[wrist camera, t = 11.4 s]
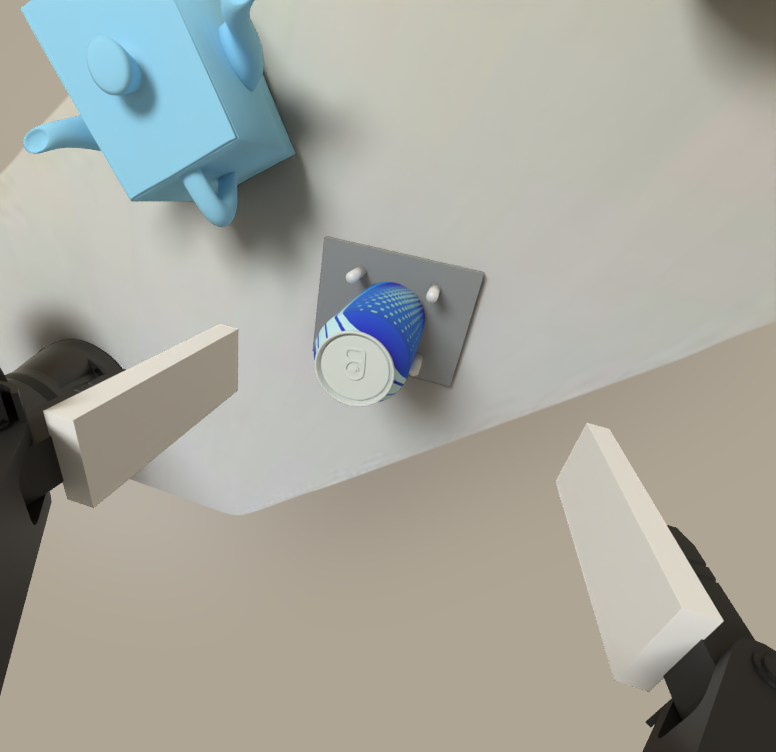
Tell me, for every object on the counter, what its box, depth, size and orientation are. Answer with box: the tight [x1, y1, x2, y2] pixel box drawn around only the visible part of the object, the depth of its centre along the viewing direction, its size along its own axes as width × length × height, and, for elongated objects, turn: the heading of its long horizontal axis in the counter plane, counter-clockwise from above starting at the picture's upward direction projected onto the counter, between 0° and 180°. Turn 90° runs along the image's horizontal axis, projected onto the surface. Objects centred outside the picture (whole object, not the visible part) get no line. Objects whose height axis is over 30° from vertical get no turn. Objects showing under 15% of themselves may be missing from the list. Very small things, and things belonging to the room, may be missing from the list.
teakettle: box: [21, 0, 295, 227], centre depth 32 cm, size 19×19×15 cm
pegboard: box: [313, 237, 484, 387], centre depth 43 cm, size 18×14×5 cm
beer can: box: [314, 282, 425, 407], centre depth 37 cm, size 8×8×16 cm
